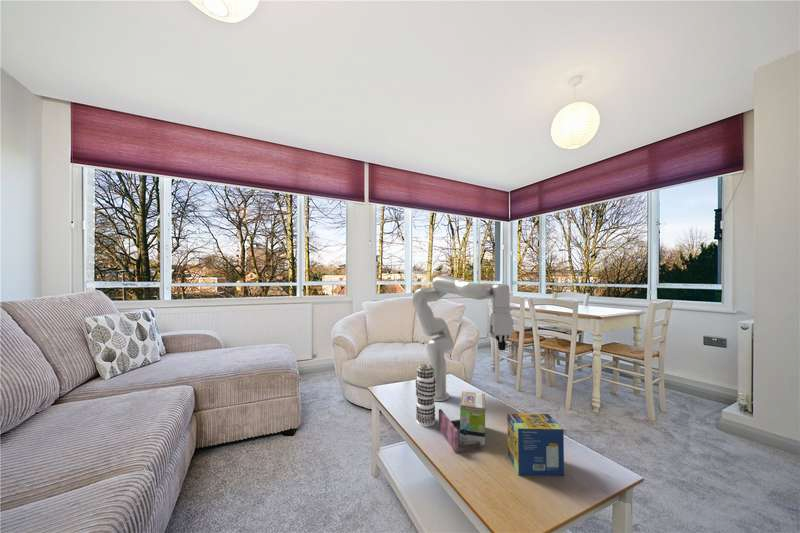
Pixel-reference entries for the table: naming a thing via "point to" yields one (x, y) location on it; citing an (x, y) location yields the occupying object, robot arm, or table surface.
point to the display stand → (454, 434)
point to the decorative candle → (425, 395)
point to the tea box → (472, 418)
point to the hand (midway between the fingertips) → (501, 349)
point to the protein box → (535, 445)
